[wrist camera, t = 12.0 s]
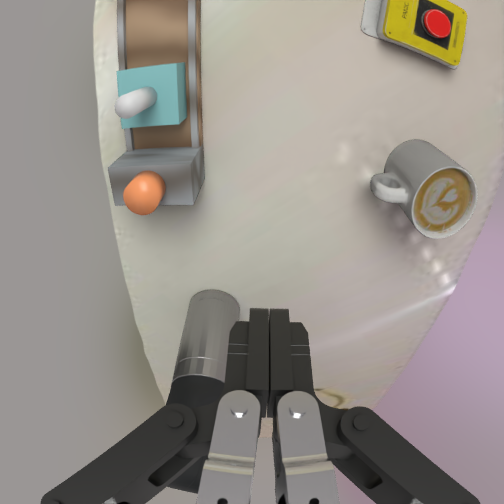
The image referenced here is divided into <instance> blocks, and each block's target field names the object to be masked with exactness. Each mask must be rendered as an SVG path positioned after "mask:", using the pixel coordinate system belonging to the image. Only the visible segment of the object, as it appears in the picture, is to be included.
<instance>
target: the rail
mask: <svg viewBox="0 0 504 504" xmlns="http://www.w3.org/2000/svg"><path fill="white" fill-rule="evenodd" d="M200 8H201V0H117V32H118V59H119V71H121V70H126V69H131V68H138V67H145V66H153V65H161V64H171V63H182V62H185V74H186V102H187V118H186V119H184V120H183V121H182V122H181V123H180V124H175V125H159V126H146V127H134V128H124V130H125V138H126V146H127V151H126V152H125V153H124V154H123V155H122V156H121V157H119V158H118V159H117V160H116V161H115V162H114V163H113V164H111V165H110V166H109V167H108V172H109V177H110V183H111V188H112V193H113V198H114V203H115V206H121V205H126V204H125V202H124V199H123V193H124V190H125V188H126V187H127V185H128V184H129V183H130V182H131V181H132V180H133V178H134V177H135V176H136V175H137V174H138V173H140V172H142V171H146V170H149V171H153V172H156V173H157V174H159V175H160V176H161V177H162V179H163V180H164V182H165V186H166V190H165V194H164V196H163V197H162V199H161V201H160V202H159V204H158V205H194V203H195V200H196V198H197V195H198V193H199V190H200V188H201V186H202V183H203V181H204V178H205V173H204V154H203V131H202V101H201V50H200Z"/></svg>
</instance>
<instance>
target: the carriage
mask: <svg viewBox="0 0 504 504" xmlns="http://www.w3.org/2000/svg"><path fill="white" fill-rule="evenodd" d="M117 83H118V95H119V98H118V99H117V100H116V102H115V111H116V113H117V115H118V116H119V117H121V125H122V129H124V128H134V127H146V126H159V125H175V124H180V123H181V122H182V121H183V120H184V119H186V118H187V102H186V74H185V62H182V63H171V64H161V65H153V66H145V67H138V68H131V69H126V70H121V71H117Z"/></svg>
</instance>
